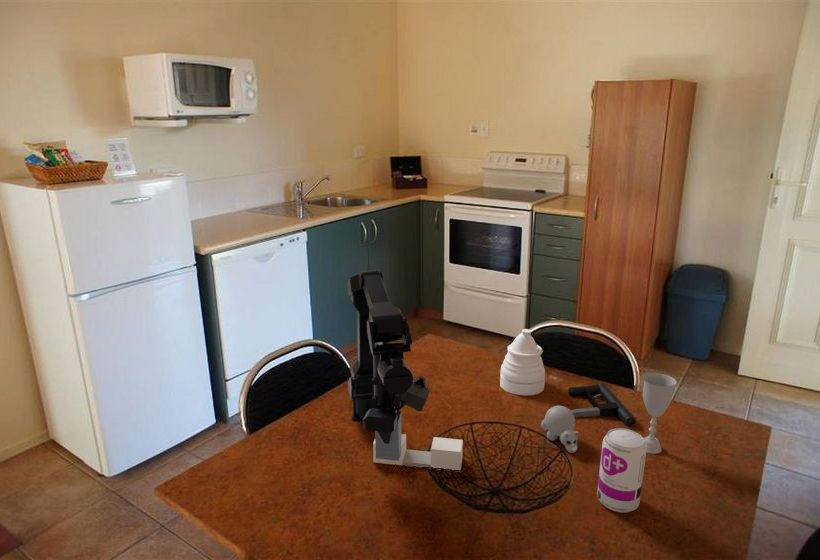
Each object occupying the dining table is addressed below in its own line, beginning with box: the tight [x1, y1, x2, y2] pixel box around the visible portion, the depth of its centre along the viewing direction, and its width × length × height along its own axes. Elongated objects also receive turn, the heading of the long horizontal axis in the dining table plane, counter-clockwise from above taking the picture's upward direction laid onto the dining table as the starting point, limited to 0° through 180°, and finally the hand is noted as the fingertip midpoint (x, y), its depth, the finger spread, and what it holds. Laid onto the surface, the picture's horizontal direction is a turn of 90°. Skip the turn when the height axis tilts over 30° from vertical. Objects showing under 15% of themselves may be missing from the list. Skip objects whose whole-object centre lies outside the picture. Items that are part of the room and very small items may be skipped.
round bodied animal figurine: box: [540, 405, 580, 454], centre depth 138 cm, size 7×12×8 cm, turn 13°
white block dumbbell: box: [372, 433, 464, 471], centre depth 131 cm, size 20×5×5 cm, turn 80°
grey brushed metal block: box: [374, 410, 402, 461], centre depth 121 cm, size 5×3×10 cm, turn 80°
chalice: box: [641, 372, 678, 455], centre depth 135 cm, size 7×7×18 cm
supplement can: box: [596, 427, 647, 513], centre depth 116 cm, size 8×8×15 cm
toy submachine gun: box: [567, 382, 637, 427], centre depth 155 cm, size 3×20×16 cm
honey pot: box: [499, 328, 546, 396], centre depth 166 cm, size 13×13×18 cm
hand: (388, 438), depth 121 cm, fingers closed on grey brushed metal block, 3 cm apart
